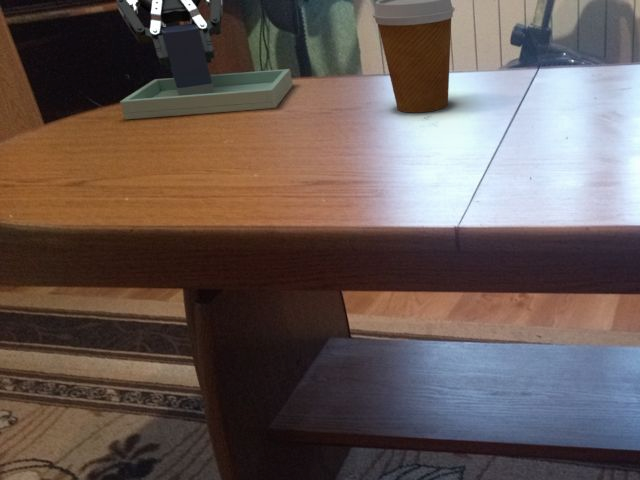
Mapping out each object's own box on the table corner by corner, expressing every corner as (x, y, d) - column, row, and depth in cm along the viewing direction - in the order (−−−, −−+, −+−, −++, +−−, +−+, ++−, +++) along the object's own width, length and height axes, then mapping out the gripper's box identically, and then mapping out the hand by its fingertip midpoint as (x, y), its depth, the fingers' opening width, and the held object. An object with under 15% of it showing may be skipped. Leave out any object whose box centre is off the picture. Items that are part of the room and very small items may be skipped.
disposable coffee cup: (456, 114, 86) (448, 2, 79) (377, 117, 87) (362, 7, 81) (465, 95, 94) (458, -9, 87) (392, 98, 95) (380, -4, 89)
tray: (125, 119, 95) (119, 101, 94) (158, 95, 107) (154, 79, 105) (275, 108, 95) (272, 89, 94) (293, 85, 106) (290, 68, 105)
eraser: (176, 89, 102) (160, 27, 98) (209, 84, 103) (195, 23, 99) (179, 97, 97) (162, 32, 93) (214, 92, 98) (198, 28, 94)
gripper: (214, -30, 105) (244, 72, 102) (108, -20, 101) (136, 87, 98) (208, -73, 98) (241, 36, 95) (94, -63, 94) (124, 51, 91)
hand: (188, 61), depth 96 cm, fingers closed on eraser, 4 cm apart
